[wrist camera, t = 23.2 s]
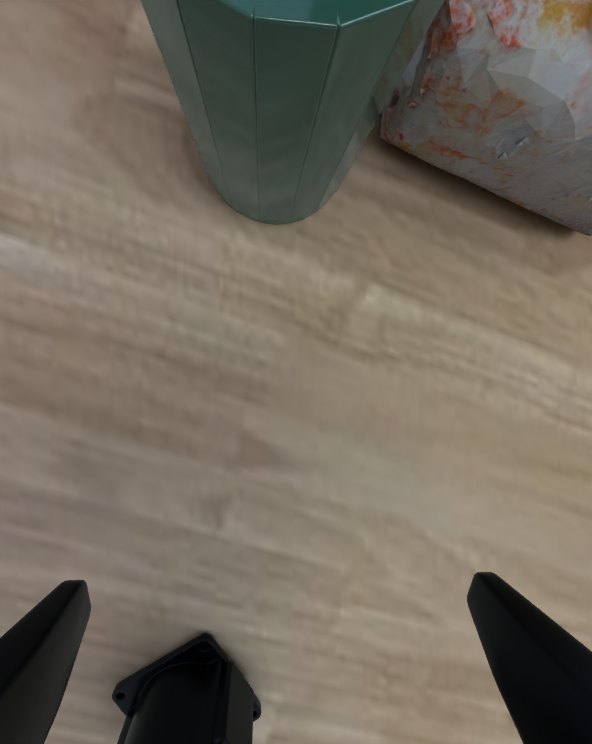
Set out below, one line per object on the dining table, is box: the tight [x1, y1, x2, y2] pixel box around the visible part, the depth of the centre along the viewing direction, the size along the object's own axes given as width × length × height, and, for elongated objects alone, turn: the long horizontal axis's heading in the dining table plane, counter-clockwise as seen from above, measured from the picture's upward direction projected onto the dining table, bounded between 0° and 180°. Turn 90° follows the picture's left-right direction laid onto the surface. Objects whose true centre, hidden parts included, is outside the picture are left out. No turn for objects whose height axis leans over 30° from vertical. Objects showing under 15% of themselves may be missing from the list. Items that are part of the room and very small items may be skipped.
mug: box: [140, 0, 444, 224], centre depth 11 cm, size 10×7×12 cm
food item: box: [380, 0, 592, 236], centre depth 14 cm, size 14×8×10 cm, turn 70°
